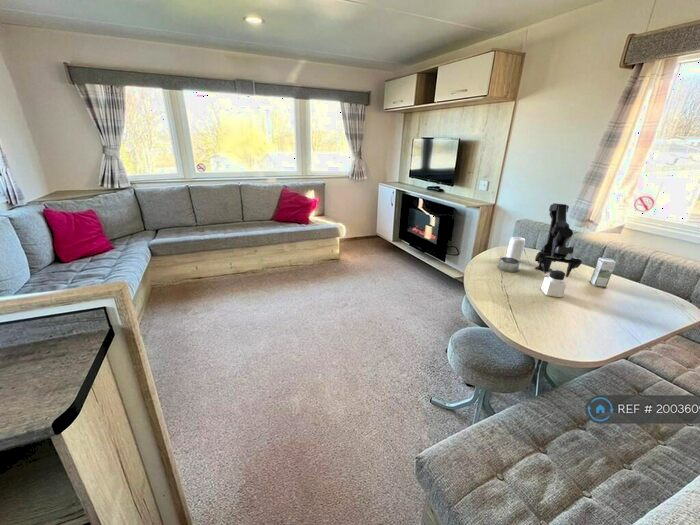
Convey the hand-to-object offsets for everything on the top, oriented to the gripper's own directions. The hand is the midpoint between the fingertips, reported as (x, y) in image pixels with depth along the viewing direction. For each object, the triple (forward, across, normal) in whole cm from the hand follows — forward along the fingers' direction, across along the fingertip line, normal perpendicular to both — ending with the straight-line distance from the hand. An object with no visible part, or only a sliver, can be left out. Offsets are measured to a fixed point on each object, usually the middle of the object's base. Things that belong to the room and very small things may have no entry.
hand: (556, 275), depth 152 cm
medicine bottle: (+8, 0, +5) cm, 10 cm away
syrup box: (-10, +25, +23) cm, 35 cm away
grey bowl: (-10, -19, +23) cm, 31 cm away
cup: (-22, -16, +35) cm, 45 cm away
